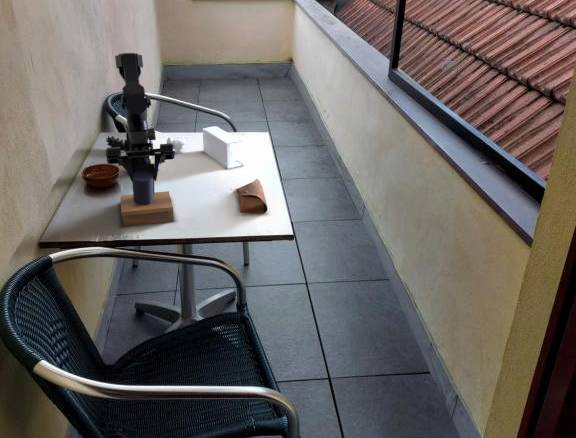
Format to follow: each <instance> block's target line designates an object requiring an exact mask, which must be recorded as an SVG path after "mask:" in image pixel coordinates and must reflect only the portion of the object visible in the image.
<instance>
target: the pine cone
mask: <svg viewBox="0 0 576 438" xmlns="http://www.w3.org/2000/svg"><path fill="white" fill-rule="evenodd" d="M105 139H106V140H105V142H107V146H109V147H110V148H111V147H120V150H121V151H123V150H125V141H124V139H120V138H119V137H117V138H115V136H114V135H112V136H111V137H110V136H107V137H105ZM125 151H126V150H125ZM128 151H129V150H128Z"/></svg>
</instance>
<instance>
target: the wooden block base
mask: <svg viewBox="0 0 576 438" xmlns="http://www.w3.org/2000/svg"><path fill="white" fill-rule="evenodd" d="M119 196H120V212H121V220H122V227H130V226H139V225H141V226H142V225H150V224H158V223H169V222H174V221H175V218H174V206H173V202H172V198H171V194H170V191H168V190H167V191H154V194H153V202H152V203H150V204H148V205H140V204H137V203H135V202H134V198H133V194H123V195H122V194H121V195H119Z"/></svg>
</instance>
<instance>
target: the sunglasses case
mask: <svg viewBox="0 0 576 438" xmlns="http://www.w3.org/2000/svg"><path fill="white" fill-rule="evenodd" d="M235 191H236V193H237V196H238V202H239V203H238V204H239V213H241V214H243V215H244V214H245V215H264V214H266V213H267V212H268V204H267V200H266V196H265V191H264V189H263V185H262V183H261V181H260V179H258V178H256V179H254V180H253V181H252V182H249V183H247V184H245V185H243V186H240V187H238V188H236V189H235Z"/></svg>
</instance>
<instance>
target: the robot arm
mask: <svg viewBox="0 0 576 438" xmlns="http://www.w3.org/2000/svg"><path fill="white" fill-rule="evenodd" d="M114 58H115V60H114V61H115V68H116V69H118V74H119V76H120V77H121V80H123V81H124V86H123V87H122V95H120V103H121V110H124V112H125V115H126V126H127V132H126V134H125V138H126V139H123V142H124V143H125V150H126V151H125V150H123V151H121V150H120V147H111V146H110V147H107V148H106V149H105V158H106V162H107V164H108V165H115V164H116V165H118V166H119V167H122V168H123V169H124V170H125V172H126V173H127V175H128V177H129V179H130V182H131V183H132V184H133V174H134V173H135V166H139V165H146V164H152V159H151V158H150V157H154V158H153V159H154V160H153V161H154V163H153V164H154V182H157V179H158V174H159V170H160V168H161V165H162V164H163V163H165V162H166V161H171V160H175V157H176V153H175V147H174V145H173V144H172V143H170V144H167V143H159V148H154V142H153V141H156V139H157V137H156V135H157V134H156V128H155V127H151V128H150V127H149V122H148V109H149V108H150V107H151V106H152V100H151V98H150V97H149V95H148V94H146V90H145V87H144V86H143V85H142V84H140V77H141V75H142V69H143V68H144V63H143V62H144V61H143V55H142V54H138V53H137V52H122V53H118V55H115V56H114ZM128 150H129V151H128Z"/></svg>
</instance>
